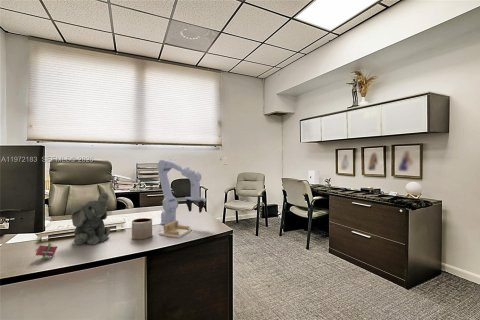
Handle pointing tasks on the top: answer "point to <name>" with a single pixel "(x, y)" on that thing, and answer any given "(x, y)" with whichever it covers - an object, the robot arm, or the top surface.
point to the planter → (141, 228)
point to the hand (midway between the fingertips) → (195, 211)
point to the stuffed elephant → (91, 221)
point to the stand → (181, 233)
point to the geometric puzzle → (46, 250)
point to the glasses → (174, 224)
